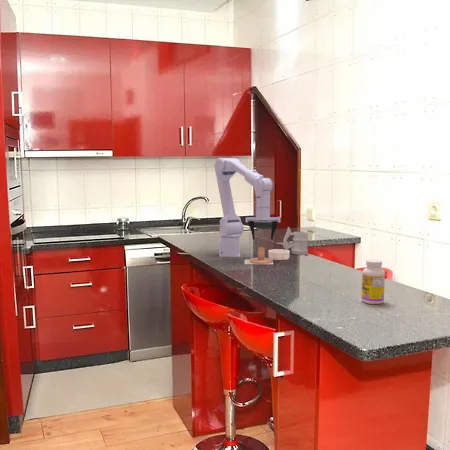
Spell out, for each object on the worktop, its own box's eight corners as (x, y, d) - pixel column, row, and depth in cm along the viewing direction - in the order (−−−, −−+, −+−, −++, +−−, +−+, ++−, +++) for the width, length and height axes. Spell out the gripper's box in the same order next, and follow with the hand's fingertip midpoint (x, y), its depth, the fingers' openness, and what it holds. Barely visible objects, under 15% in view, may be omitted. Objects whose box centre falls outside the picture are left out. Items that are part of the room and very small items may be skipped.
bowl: (268, 260, 238) (269, 252, 238) (268, 256, 247) (268, 249, 246) (289, 260, 238) (290, 252, 237) (288, 257, 246) (288, 249, 246)
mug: (309, 255, 251) (311, 229, 250) (284, 254, 249) (286, 227, 248) (305, 253, 258) (307, 227, 257) (280, 251, 257) (282, 226, 256)
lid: (249, 263, 228) (249, 249, 227) (249, 259, 238) (249, 245, 237) (273, 264, 228) (273, 249, 227) (272, 260, 237) (272, 246, 236)
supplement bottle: (358, 299, 172) (359, 258, 171) (379, 299, 173) (380, 258, 171) (365, 305, 166) (367, 262, 164) (387, 304, 166) (388, 262, 165)
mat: (244, 264, 228) (244, 263, 228) (244, 260, 238) (244, 259, 238) (273, 265, 227) (273, 264, 227) (272, 260, 237) (272, 259, 237)
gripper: (246, 207, 226) (245, 240, 228) (281, 208, 226) (280, 240, 228) (245, 206, 233) (245, 238, 235) (279, 206, 233) (279, 238, 235)
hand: (262, 239), depth 232 cm, fingers open, 7 cm apart
